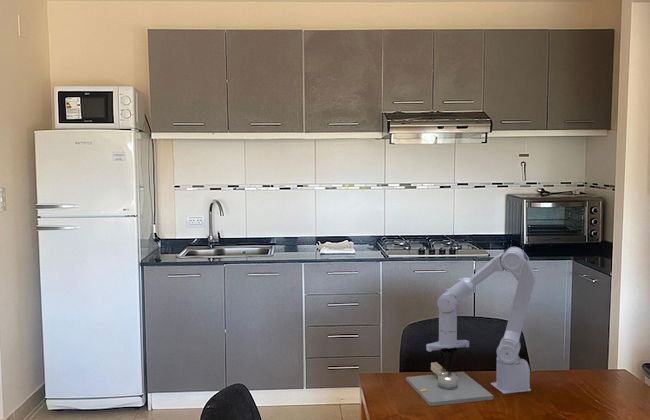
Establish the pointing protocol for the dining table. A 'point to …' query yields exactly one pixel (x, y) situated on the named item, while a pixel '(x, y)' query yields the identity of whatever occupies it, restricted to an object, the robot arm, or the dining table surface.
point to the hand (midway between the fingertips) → (447, 370)
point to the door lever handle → (444, 377)
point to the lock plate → (448, 390)
